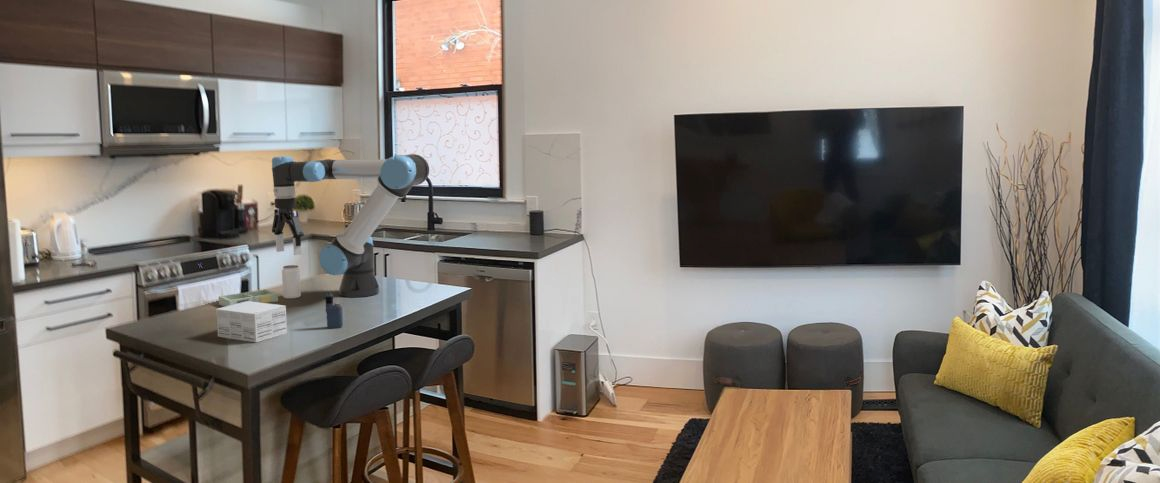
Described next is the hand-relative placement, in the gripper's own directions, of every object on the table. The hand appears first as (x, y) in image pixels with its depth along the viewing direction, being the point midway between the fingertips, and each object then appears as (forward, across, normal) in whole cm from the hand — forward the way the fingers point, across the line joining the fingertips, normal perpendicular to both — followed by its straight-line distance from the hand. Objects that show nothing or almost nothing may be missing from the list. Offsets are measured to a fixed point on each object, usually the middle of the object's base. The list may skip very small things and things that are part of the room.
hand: (289, 253), depth 309 cm
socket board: (+17, -3, -16) cm, 23 cm away
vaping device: (+18, +52, -12) cm, 56 cm away
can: (+18, -1, 0) cm, 18 cm away
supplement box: (+18, +41, -35) cm, 57 cm away
